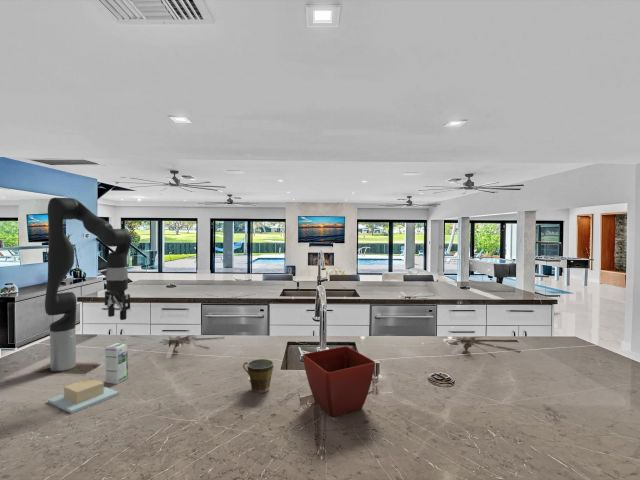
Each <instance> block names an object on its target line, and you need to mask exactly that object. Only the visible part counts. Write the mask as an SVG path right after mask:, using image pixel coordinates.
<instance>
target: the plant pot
mask: <svg viewBox="0 0 640 480" xmlns="http://www.w3.org/2000/svg"><path fill="white" fill-rule="evenodd" d="M302 358H303V360H302V361H303V364H304V371H305V374H306V379H307V382H308V386H309V388H310V391H311V396H312V398H313V399H314V402H315V403H316V404H317V406H319V407H320V408H321V409H322V410H323V411H324V412H325V413H327V415H329V416H330V417H337V416H341V415H343V414H348V413H351V412H354V411H357V410H361V409H363V407H364V404H365V402H366V399H367V397H368V394H369V391H370V388H371V384H372V381H373V376H374V372H375V366H376V361H374V360H373V359H371V358H369V357H368V356H365V355H363V354H362V353H360V352H359V351H357V350H356V349H353V348H351V347H349V346H339V347H334V348H328V349H323V350H317V351H312V352H307V353H303V354H302Z"/></svg>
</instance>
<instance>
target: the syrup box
mask: <svg viewBox="0 0 640 480" xmlns="http://www.w3.org/2000/svg"><path fill="white" fill-rule="evenodd" d="M104 355H105V356H104V357H105V359H104V361H105V383H108V384H114V385H115V384H116V385H118V384H120V383H121V382H124V381H126V380H128V379H129V361H128V360H129V359H128V343H123V342H121V343H119V342H117V343H114V344H112V345H108V346H106V347H105V348H104Z"/></svg>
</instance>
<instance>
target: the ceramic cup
mask: <svg viewBox="0 0 640 480" xmlns="http://www.w3.org/2000/svg"><path fill="white" fill-rule="evenodd" d="M245 365H246V367H247V369H246V367H245ZM242 367H243V370H245V372H246V373H247V374H248V376H249V380H250V388H251V390H252V391H251V392H253V393H257V394H261V393H267V391H269V390H270V387H271V381H272V380H271V379H272V375H273V370H274V362H273V361H272V360H270V359H266V358H258V359H257V358H256V359H253V360H250V361H248V362H247V361H246V362H244V363H243V364H242Z"/></svg>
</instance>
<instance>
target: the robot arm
mask: <svg viewBox="0 0 640 480" xmlns="http://www.w3.org/2000/svg"><path fill="white" fill-rule="evenodd" d="M47 219H48V220H47V221H48V251H47V282H46V283H47V284H46V291H45V299H44V310H45V314H47V316H49V317H50V316H59V315H63V316H62V317H60V318H59V319H58V320H55V321H53V322H52V323H50V325H49V350H50V351H49V353H50V354H49V357H50V363H49V364H50V371H51V372H63V371H68V370H71V369H73V368H75V367H76V366H77V347H76V346H77V343H76V337H77V335H76V322H77V298H76V294H75V293H74V292H72V291H69V292H68V291H67V292H59V293H58V291H59V288H60V285H61V284H62V282H63V280H64V279H65V278H66V276H67V275H68V274H69V273H70V271H71V270H72V268H73V266H75V265H74V264H75V249H74V246H73V244H72V242H71V241H70V239H69V238H68V236H67V235H66V234H65V230H64V220H76V221H77V220H78V221H80V222H82V225H83V228H84V229H85V230H86V231H87V232H89V233H90V234H92V235H93V236H96V237H97V238H98V240H99V241H100V242H101V243H102V244H103V245H105V246H106V247H110V248H111V247H116V248H115V250H114V251H111V252H109V253H108V254H107V255H106V276H105V277H106V278H105V280H106V281H105V282H106V287H105V288H106V290H105V291H104V306H106V308H107V316H108V318H109V317H110V318H111V317H114V316H115V315H116V313H115V305H116V306H117V307H118V308H119V320H120V321H125V320H126V319H127V311H128V310H131V295H130V294H129V293H127V294H126V290H128V289H129V287H128V284H129V279H128V278H129V277H128V276H129V275H128V274H129V271H128V256H129V252H130V249H131V244H132V234H131V231H129V230H128V229H127V228H113V225H112V223H110V222H108V221H107V220H104V219H103V218H101V217H99V216H97V215H96V214H95V213H93V212H92V211H91V210H90V209H89V208H88V207H86V206H85V205H84V204H83V203H81V202H80V201H79V200H77V199H76V198H72V197H52V198H50V200H49V201H48V204H47Z"/></svg>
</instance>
